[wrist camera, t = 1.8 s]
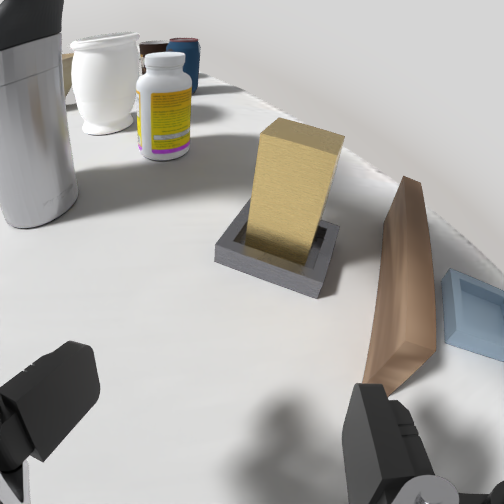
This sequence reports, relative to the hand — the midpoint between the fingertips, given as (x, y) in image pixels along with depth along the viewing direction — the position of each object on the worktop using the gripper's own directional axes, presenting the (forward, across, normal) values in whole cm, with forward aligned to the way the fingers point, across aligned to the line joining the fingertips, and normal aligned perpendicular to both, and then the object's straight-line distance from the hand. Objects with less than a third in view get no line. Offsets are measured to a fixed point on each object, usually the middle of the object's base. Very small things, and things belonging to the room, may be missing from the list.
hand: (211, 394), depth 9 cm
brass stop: (+19, -1, -1) cm, 19 cm away
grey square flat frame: (+20, -1, 0) cm, 20 cm away
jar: (+37, +27, -15) cm, 48 cm away
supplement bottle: (+32, +15, -10) cm, 36 cm away
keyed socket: (+17, -20, +4) cm, 27 cm away
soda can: (+56, +22, -25) cm, 65 cm away
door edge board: (+18, -11, +2) cm, 21 cm away
